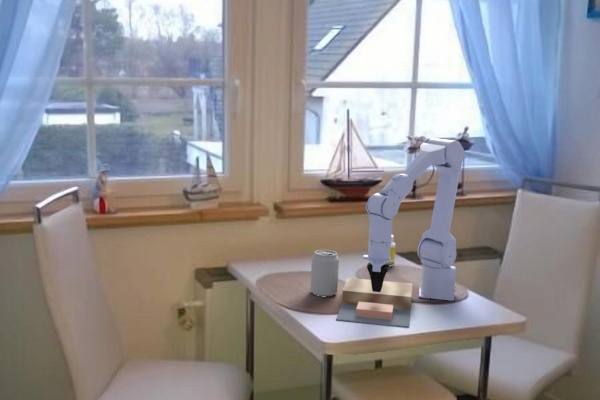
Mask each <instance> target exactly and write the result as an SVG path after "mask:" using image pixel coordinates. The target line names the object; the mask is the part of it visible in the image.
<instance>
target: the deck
mask: <svg viewBox="0 0 600 400" xmlns="http://www.w3.org/2000/svg"><path fill="white" fill-rule="evenodd" d="M341 294H342V297H341V305H342V304H348V305H358V302H369V303H379V304H390V305H393V309H400V310H410V311H411V306H412V298H411V297H412V294H413V283H411V282H410V283H409V282H401V281H400V282H398V281H386V280H384V281H383V285H382V289H381V292H373V291H372V285H371V279H365V278H354V277H347V278H346V280H345V283H344V286H343V288H342V293H341Z"/></svg>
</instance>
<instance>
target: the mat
mask: <svg viewBox="0 0 600 400" xmlns="http://www.w3.org/2000/svg"><path fill="white" fill-rule="evenodd" d="M356 308H357V305H348V304H342V303H341V305H340V307H339V311H338V313H337V316H336V319H335V320H336V321H340V322H350V323H360V324H370V325H378V326H380V325H381V326H387V327H401V328H410V320H411V319H410V318H411V309H410V310H400V309H393V315H392V320H386V319H376V318H366V317H356Z"/></svg>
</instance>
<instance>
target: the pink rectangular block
mask: <svg viewBox="0 0 600 400" xmlns="http://www.w3.org/2000/svg"><path fill="white" fill-rule="evenodd" d="M392 315H393V305H390V304H379V303H369V302H358V305H357V308H356V317H366V318H376V319H386V320H392Z"/></svg>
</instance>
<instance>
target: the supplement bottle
mask: <svg viewBox="0 0 600 400" xmlns="http://www.w3.org/2000/svg"><path fill="white" fill-rule="evenodd" d="M394 239H395V237H394V234H392V235H391V250H390V257H391V261H390V262H388V263H389V264H390V266H389V268H390V267H391V266H392V267H394V266H395V261H396V260H395V259H396V258H395V257H396V243H395V242H394Z"/></svg>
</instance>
